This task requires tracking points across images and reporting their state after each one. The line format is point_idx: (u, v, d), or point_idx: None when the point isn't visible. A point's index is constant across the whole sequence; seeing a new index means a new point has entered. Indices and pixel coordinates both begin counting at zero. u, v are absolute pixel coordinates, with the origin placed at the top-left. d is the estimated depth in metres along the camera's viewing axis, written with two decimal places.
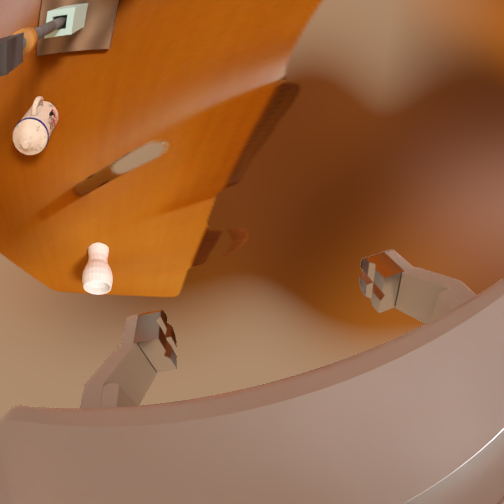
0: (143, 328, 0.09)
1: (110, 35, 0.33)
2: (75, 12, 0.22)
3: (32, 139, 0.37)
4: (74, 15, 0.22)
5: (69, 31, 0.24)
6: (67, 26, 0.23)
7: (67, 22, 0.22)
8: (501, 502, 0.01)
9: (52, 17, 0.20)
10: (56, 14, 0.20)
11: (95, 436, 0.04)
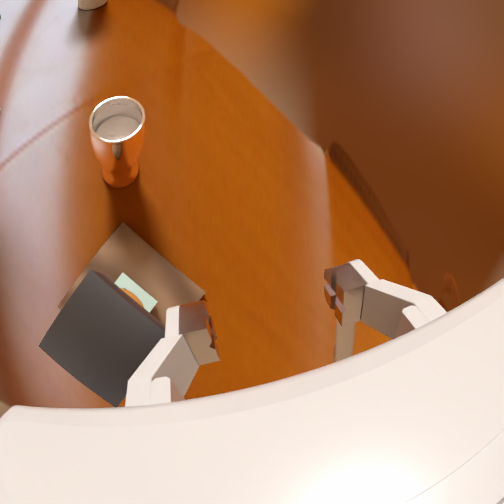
0: (187, 319, 0.09)
1: (189, 280, 0.40)
2: None
3: None
4: (133, 281, 0.28)
5: (151, 301, 0.28)
6: (141, 298, 0.28)
7: (136, 295, 0.28)
8: (501, 502, 0.01)
9: None
10: None
11: (95, 436, 0.04)
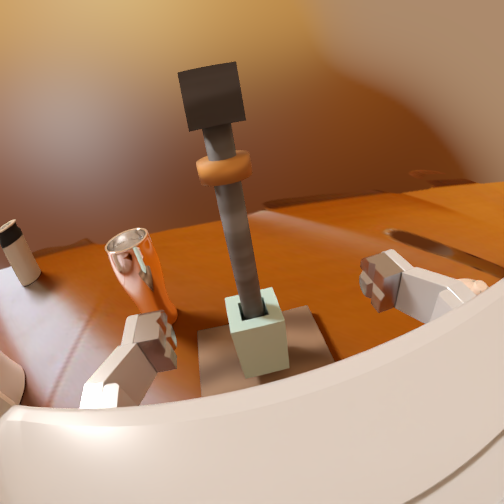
0: (143, 328, 0.09)
1: (287, 311, 0.39)
2: None
3: (468, 286, 0.23)
4: None
5: (267, 291, 0.28)
6: None
7: None
8: (501, 502, 0.01)
9: (243, 321, 0.25)
10: (237, 317, 0.26)
11: (95, 436, 0.04)
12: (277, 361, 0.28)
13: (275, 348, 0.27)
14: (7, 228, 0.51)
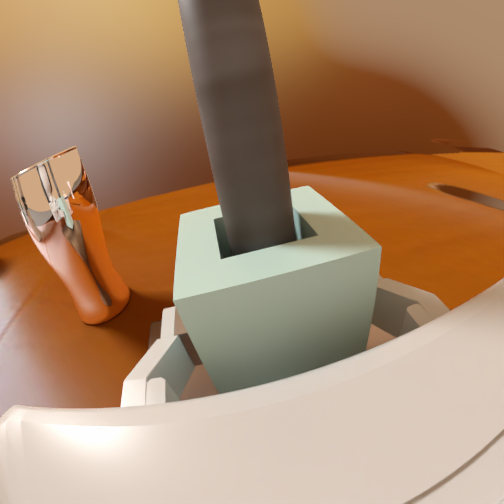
0: None
1: None
2: None
3: None
4: None
5: (297, 192, 0.10)
6: None
7: None
8: (501, 502, 0.01)
9: (225, 260, 0.07)
10: (207, 250, 0.07)
11: (95, 436, 0.04)
12: None
13: (333, 358, 0.08)
14: None
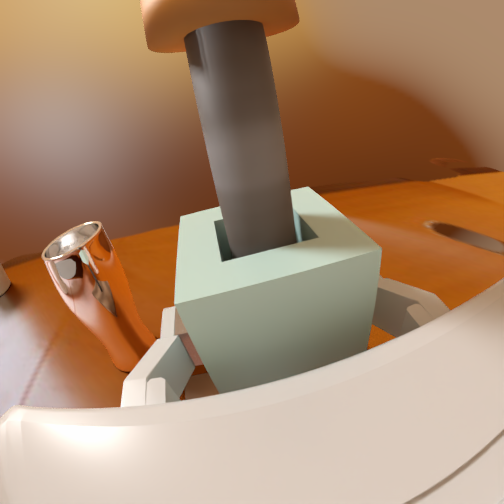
0: None
1: None
2: None
3: None
4: None
5: (297, 193, 0.10)
6: None
7: None
8: (501, 502, 0.01)
9: (226, 263, 0.07)
10: (207, 253, 0.07)
11: (95, 436, 0.04)
12: None
13: (333, 359, 0.08)
14: None
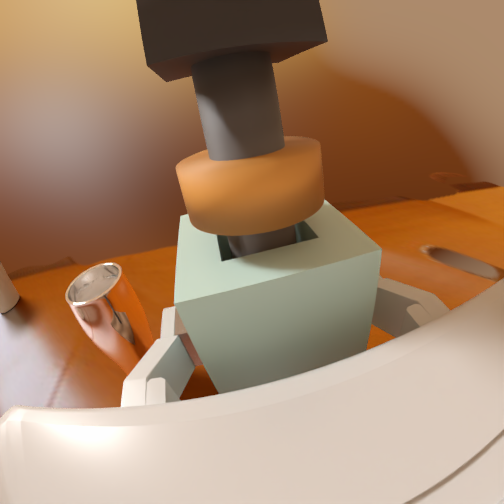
0: None
1: None
2: None
3: None
4: None
5: None
6: None
7: None
8: (501, 502, 0.01)
9: (226, 263, 0.07)
10: (207, 253, 0.07)
11: (95, 436, 0.04)
12: None
13: (332, 359, 0.08)
14: None
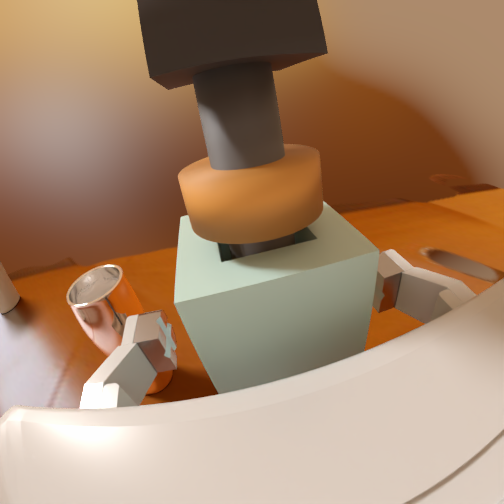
0: (143, 328, 0.09)
1: None
2: None
3: None
4: None
5: None
6: None
7: None
8: (501, 502, 0.01)
9: (226, 263, 0.07)
10: (207, 253, 0.08)
11: (95, 436, 0.04)
12: None
13: (331, 359, 0.08)
14: None
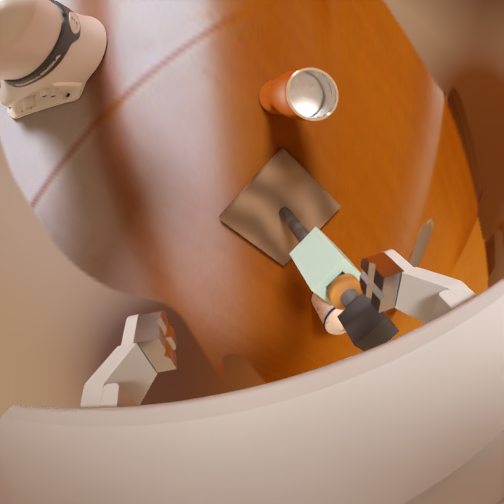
0: (143, 328, 0.09)
1: (331, 197, 0.49)
2: (346, 259, 0.29)
3: None
4: (350, 263, 0.29)
5: None
6: None
7: None
8: (501, 502, 0.01)
9: (325, 288, 0.30)
10: (327, 282, 0.29)
11: (95, 436, 0.04)
12: None
13: None
14: None
